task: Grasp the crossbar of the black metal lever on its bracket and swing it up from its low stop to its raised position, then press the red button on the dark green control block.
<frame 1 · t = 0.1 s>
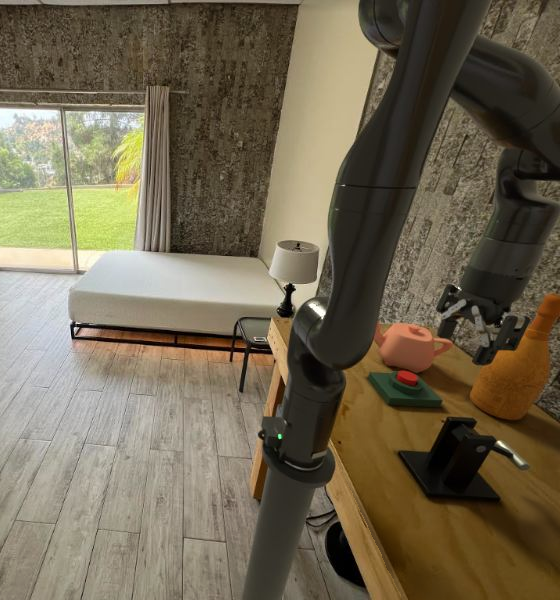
hand: (460, 349, 58), 24 cm above the worktop, tool pointing down, fingers open, 8 cm apart
wine bottle: (493, 407, 77), on the worktop
button: (406, 378, 80), point 4 cm above the worktop, slide at 0.1 cm
teapot: (397, 361, 94), on the worktop
bracket: (443, 476, 61), on the worktop
button block: (401, 392, 82), on the worktop
lever: (488, 444, 56), point 9 cm above the worktop, hinge at -25.0°
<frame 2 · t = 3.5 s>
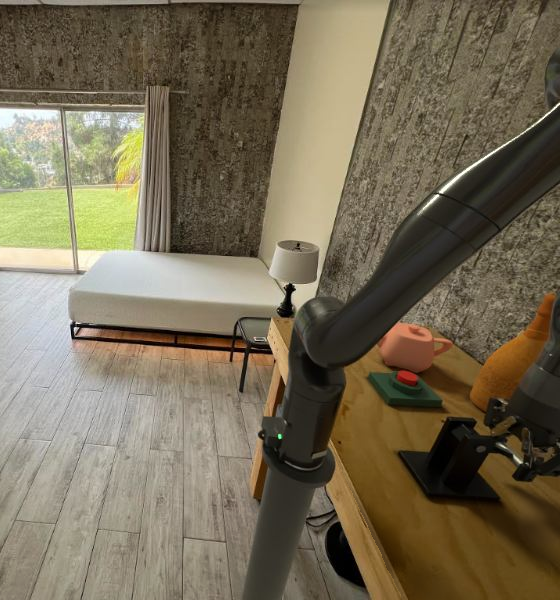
hand: (505, 464, 58), 4 cm above the worktop, tool pointing down, fingers closed on lever, 5 cm apart
lever: (488, 444, 56), point 9 cm above the worktop, hinge at -25.1°, touching gripper
everything else where it was.
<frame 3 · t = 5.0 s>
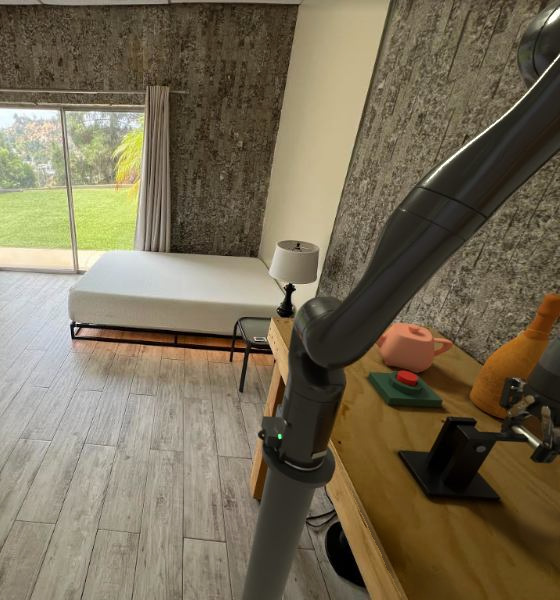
hand: (522, 446, 56), 9 cm above the worktop, tool pointing down, fingers closed on lever, 5 cm apart
lever: (496, 436, 56), point 11 cm above the worktop, hinge at 0.6°, touching gripper
everything else where it was.
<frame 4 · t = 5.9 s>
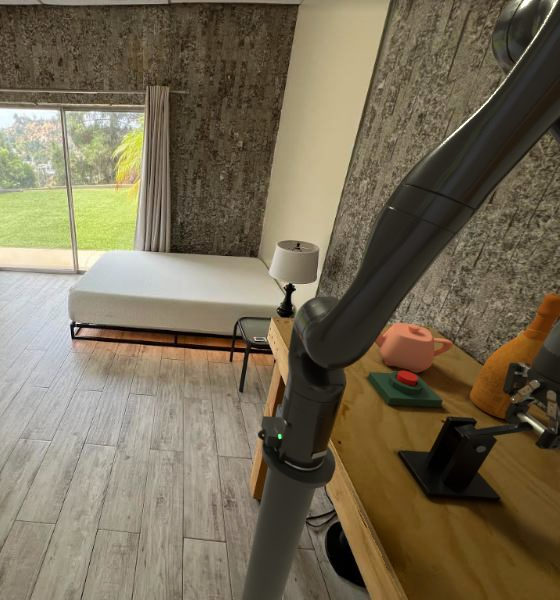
hand: (527, 433, 55), 12 cm above the worktop, tool pointing down, fingers closed on lever, 5 cm apart
lever: (498, 430, 55), point 12 cm above the worktop, hinge at 18.5°, touching gripper
everything else where it was.
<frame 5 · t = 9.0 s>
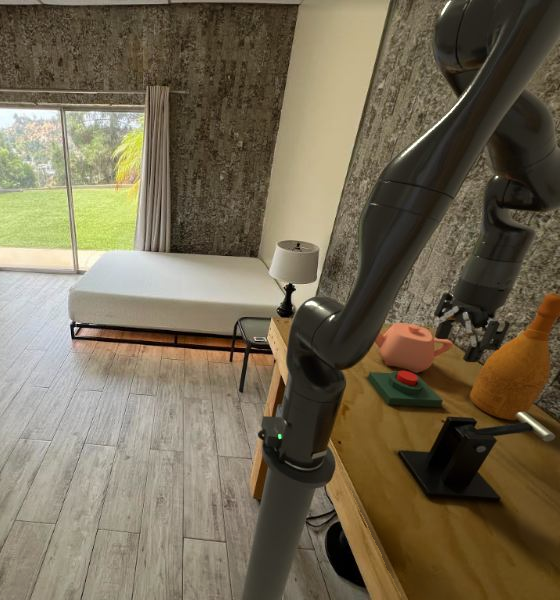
hand: (454, 349, 68), 18 cm above the worktop, tool pointing down, fingers open, 8 cm apart
lever: (498, 430, 55), point 12 cm above the worktop, hinge at 17.4°
everything else where it was.
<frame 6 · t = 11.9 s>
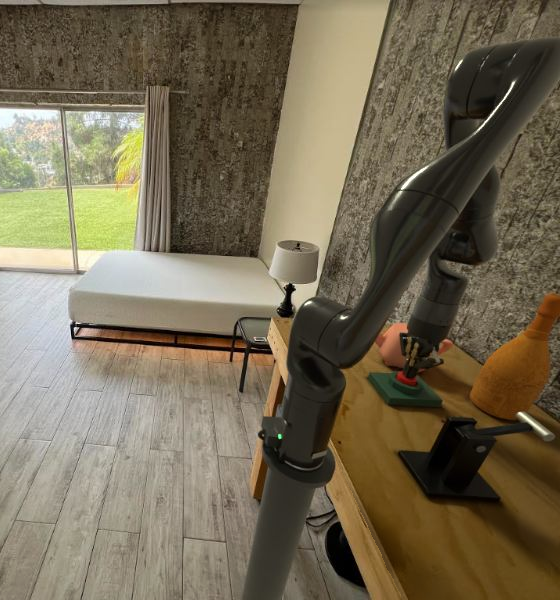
hand: (408, 376, 80), 5 cm above the worktop, tool pointing down, fingers closed
button: (406, 379, 80), point 4 cm above the worktop, slide at -0.2 cm, touching gripper
everything else where it was.
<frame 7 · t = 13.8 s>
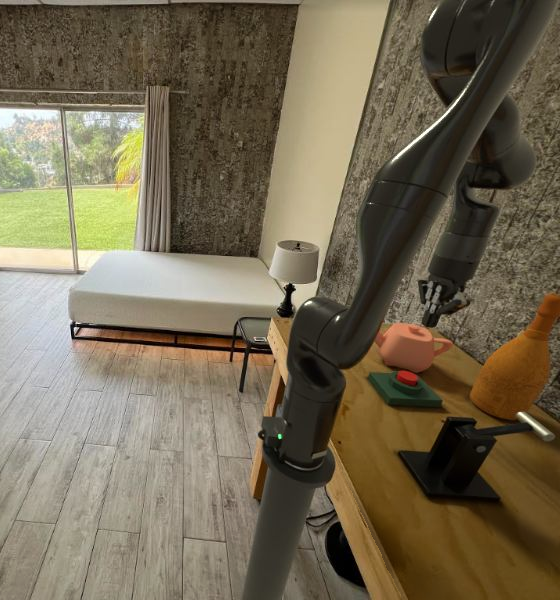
hand: (427, 326, 73), 20 cm above the worktop, tool pointing down, fingers closed
button: (406, 378, 80), point 4 cm above the worktop, slide at 0.1 cm
everything else where it was.
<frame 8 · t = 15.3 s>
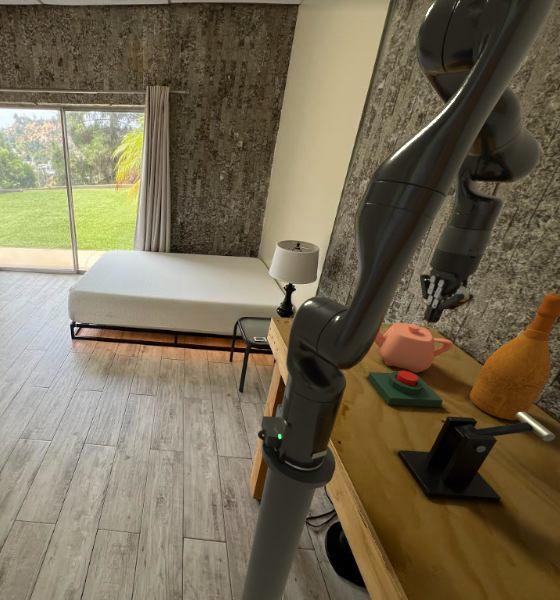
hand: (430, 321, 73), 21 cm above the worktop, tool pointing down, fingers closed
nothing on the worktop moved.
at the end: lever at +17° (first picture: -25°); button pushed in 1.1 cm at the most during the clip, back to where it started at the end; button slide at 0.1 cm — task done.
